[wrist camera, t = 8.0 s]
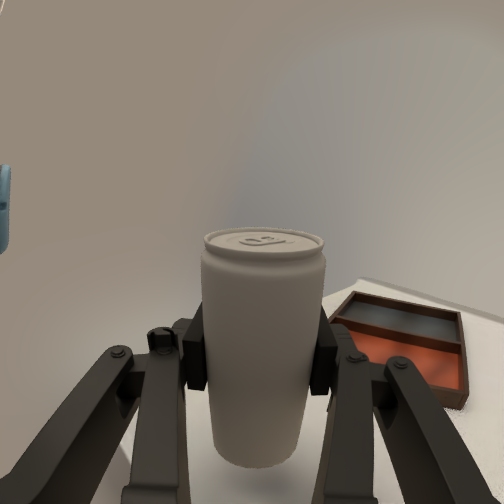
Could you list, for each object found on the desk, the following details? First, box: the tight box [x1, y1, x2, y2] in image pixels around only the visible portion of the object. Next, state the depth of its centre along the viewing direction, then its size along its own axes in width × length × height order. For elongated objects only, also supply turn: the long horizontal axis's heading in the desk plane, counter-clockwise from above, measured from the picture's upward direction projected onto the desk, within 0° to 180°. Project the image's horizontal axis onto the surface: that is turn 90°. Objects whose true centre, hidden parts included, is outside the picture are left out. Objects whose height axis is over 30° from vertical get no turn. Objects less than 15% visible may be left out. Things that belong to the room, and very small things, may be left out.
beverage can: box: [201, 227, 326, 468], centre depth 12 cm, size 5×5×12 cm
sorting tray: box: [328, 291, 469, 410], centre depth 30 cm, size 18×20×2 cm
